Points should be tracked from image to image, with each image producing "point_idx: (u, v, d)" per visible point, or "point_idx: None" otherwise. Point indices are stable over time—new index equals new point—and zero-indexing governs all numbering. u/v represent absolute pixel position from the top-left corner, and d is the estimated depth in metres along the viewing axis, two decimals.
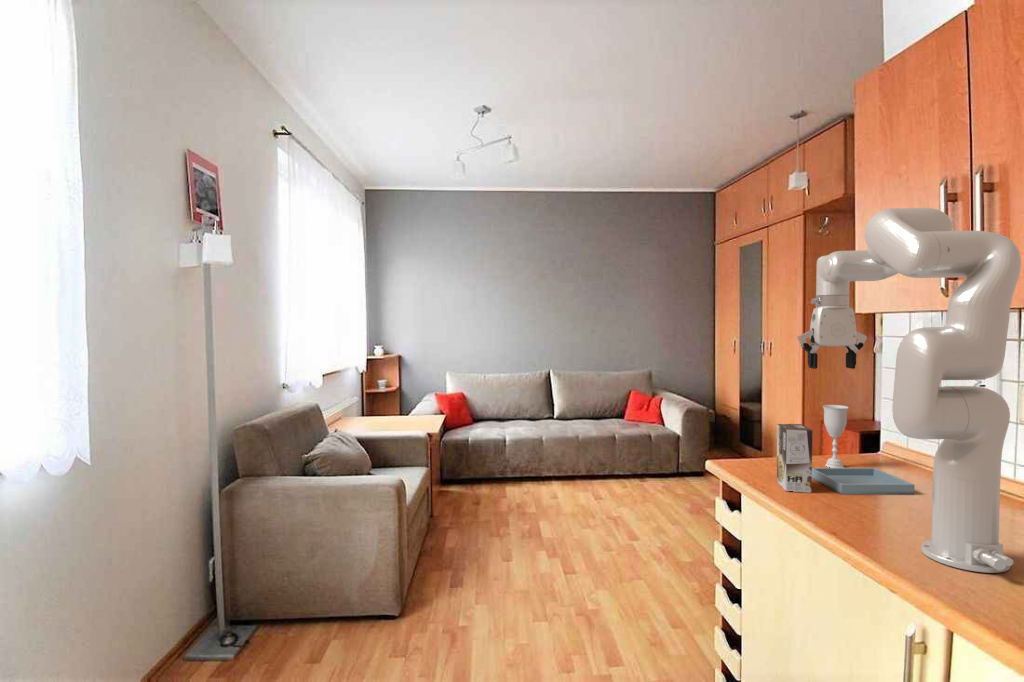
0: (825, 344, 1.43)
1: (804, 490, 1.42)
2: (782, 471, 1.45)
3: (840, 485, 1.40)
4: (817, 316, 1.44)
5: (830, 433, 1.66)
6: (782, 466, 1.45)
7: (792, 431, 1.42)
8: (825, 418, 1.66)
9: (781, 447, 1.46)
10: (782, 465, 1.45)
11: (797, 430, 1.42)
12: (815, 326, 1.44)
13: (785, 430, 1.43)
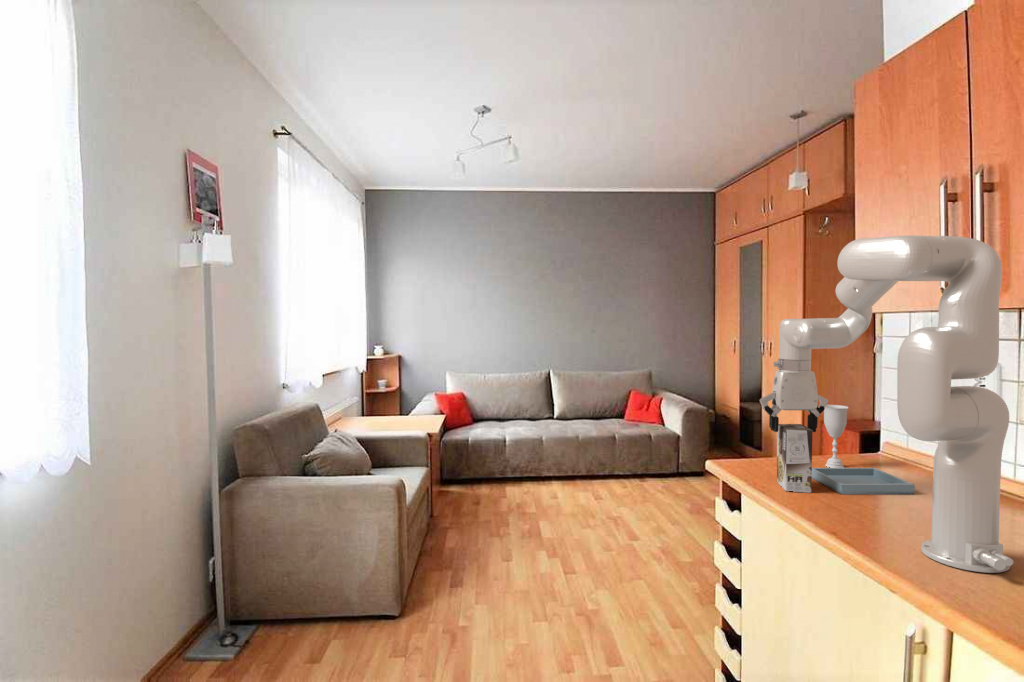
0: (786, 408, 1.43)
1: (804, 490, 1.42)
2: (782, 471, 1.45)
3: (840, 485, 1.40)
4: (779, 380, 1.44)
5: (830, 433, 1.66)
6: (782, 466, 1.45)
7: (792, 431, 1.42)
8: (825, 418, 1.66)
9: (781, 447, 1.46)
10: (782, 465, 1.45)
11: (797, 430, 1.42)
12: (777, 390, 1.44)
13: (785, 430, 1.43)
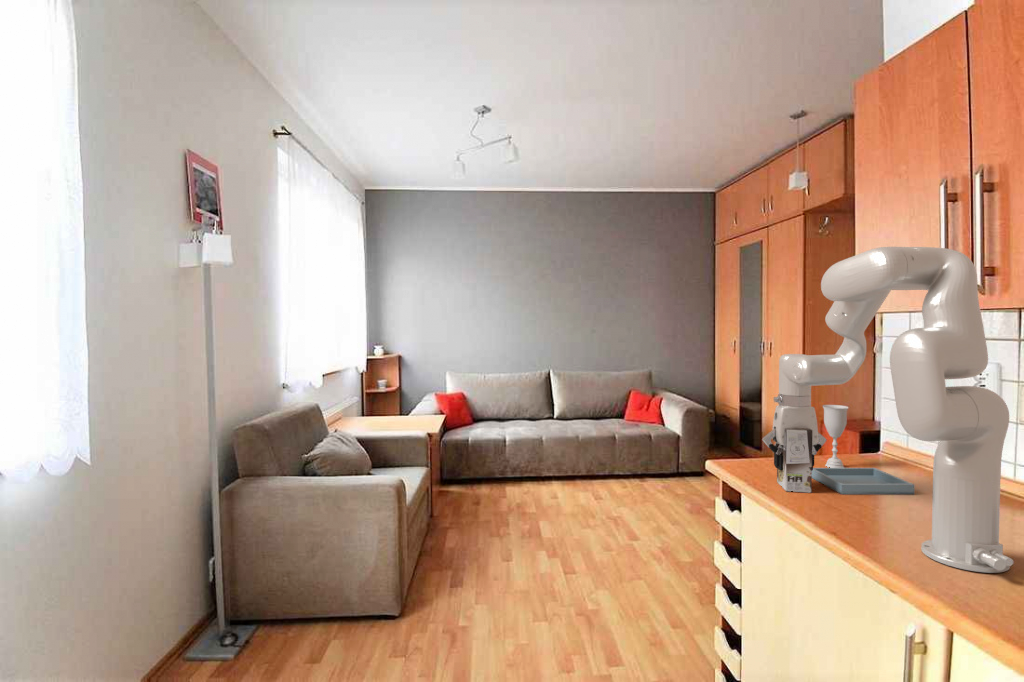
0: None
1: (804, 490, 1.42)
2: (782, 471, 1.45)
3: (840, 485, 1.40)
4: (779, 416, 1.44)
5: (830, 433, 1.66)
6: None
7: (792, 431, 1.42)
8: (825, 418, 1.66)
9: None
10: None
11: (797, 430, 1.42)
12: (777, 425, 1.45)
13: (785, 430, 1.43)
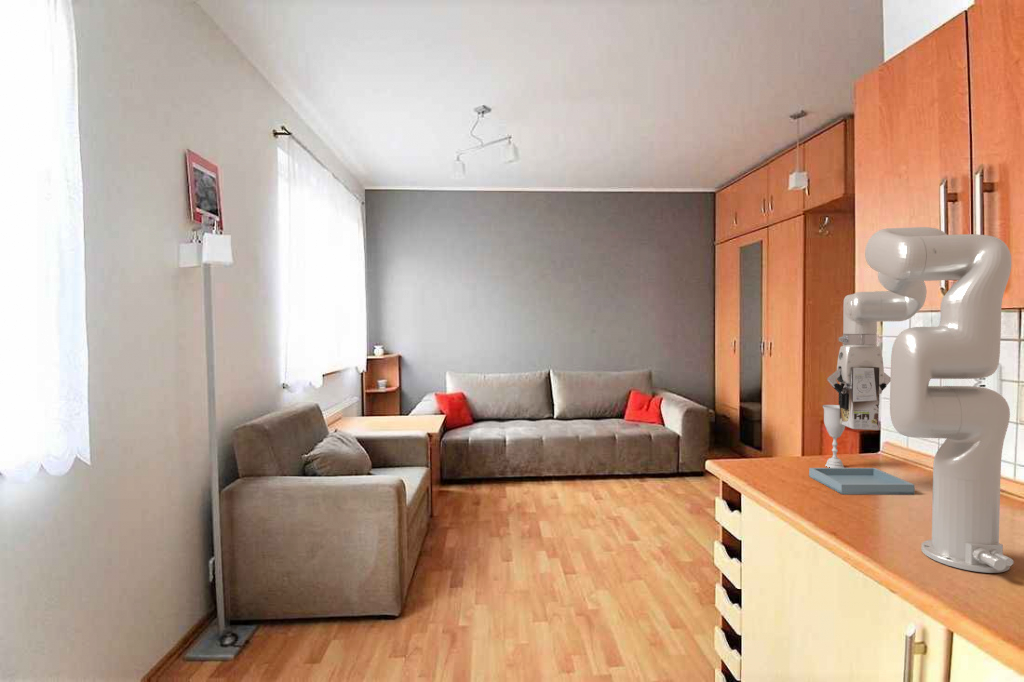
0: None
1: (871, 427, 1.42)
2: (847, 410, 1.46)
3: (840, 485, 1.40)
4: (845, 354, 1.45)
5: (830, 433, 1.66)
6: None
7: (859, 369, 1.43)
8: (825, 418, 1.66)
9: None
10: None
11: (864, 368, 1.43)
12: (843, 364, 1.45)
13: None
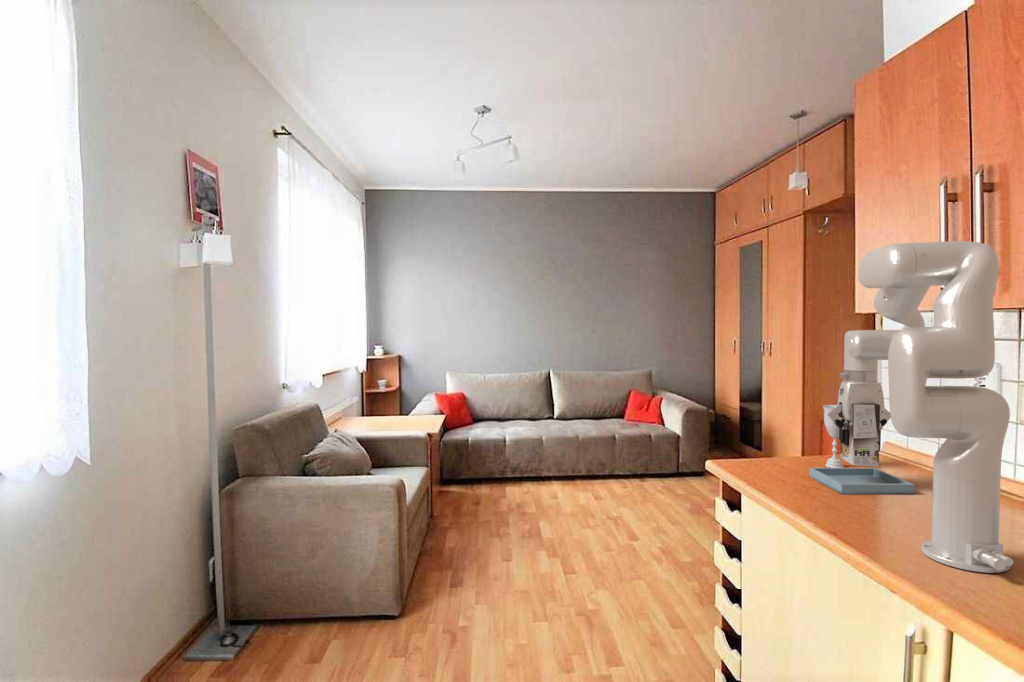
0: None
1: (871, 464, 1.43)
2: (848, 446, 1.47)
3: (840, 485, 1.40)
4: (845, 391, 1.45)
5: (830, 433, 1.66)
6: None
7: (859, 406, 1.43)
8: (825, 418, 1.66)
9: None
10: None
11: (864, 405, 1.43)
12: (843, 401, 1.46)
13: (852, 405, 1.44)
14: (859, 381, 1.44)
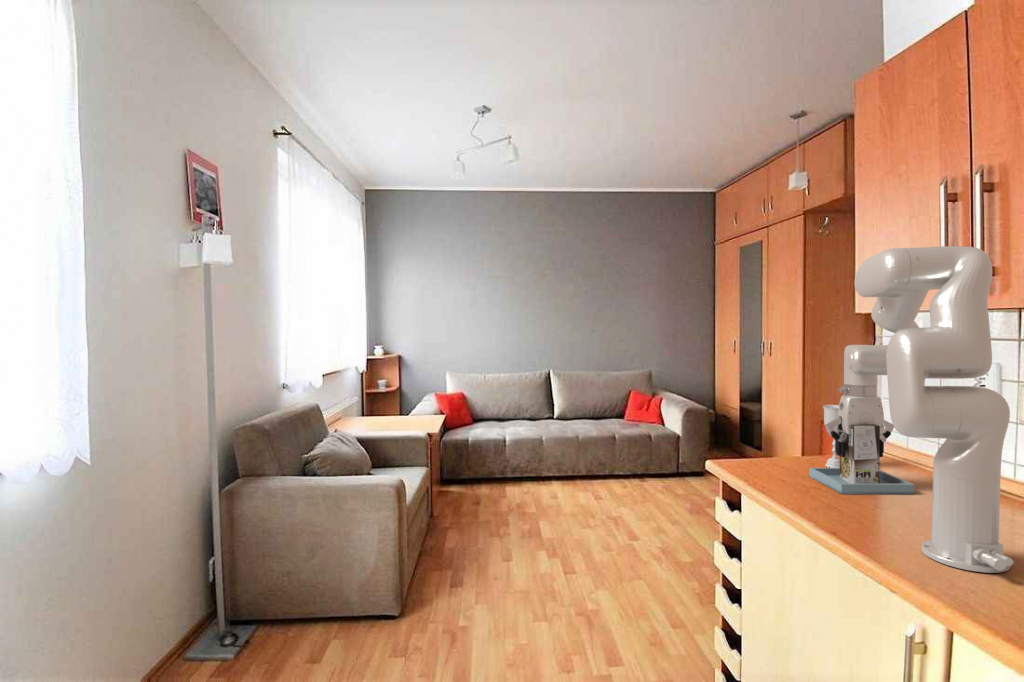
0: None
1: None
2: (848, 467, 1.46)
3: (840, 485, 1.40)
4: (845, 405, 1.45)
5: None
6: (848, 462, 1.46)
7: (860, 427, 1.43)
8: (825, 418, 1.66)
9: (846, 443, 1.47)
10: (848, 461, 1.46)
11: (865, 426, 1.43)
12: (843, 415, 1.46)
13: (852, 426, 1.44)
14: (859, 396, 1.44)
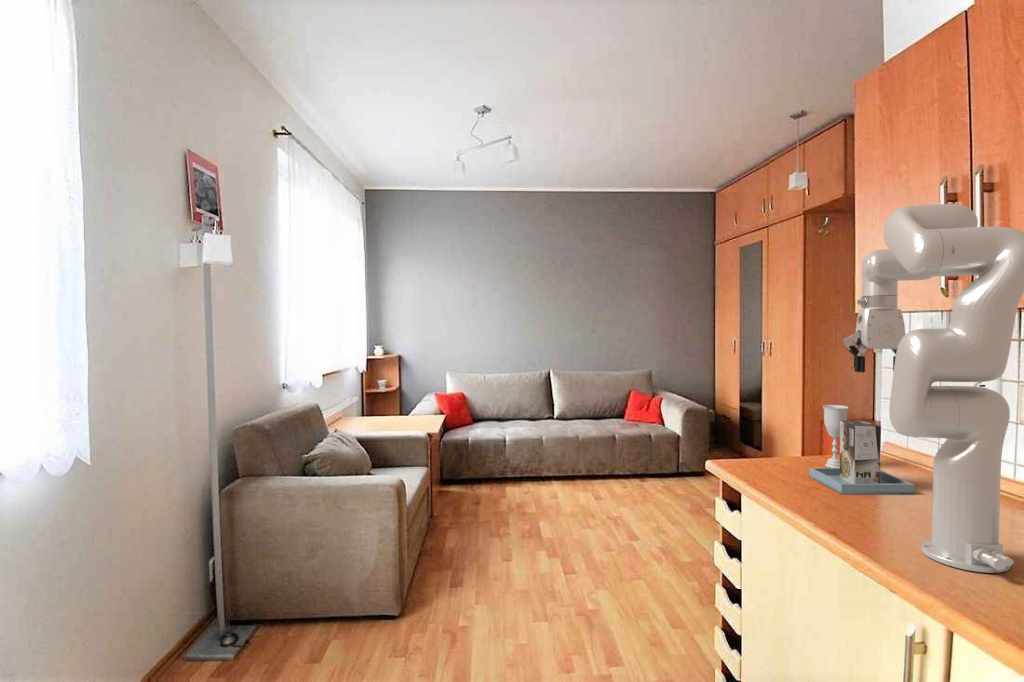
0: (873, 346, 1.37)
1: None
2: (849, 467, 1.46)
3: (840, 485, 1.40)
4: (864, 317, 1.38)
5: (830, 433, 1.66)
6: (849, 462, 1.46)
7: (861, 427, 1.43)
8: (825, 418, 1.66)
9: (847, 443, 1.47)
10: (849, 461, 1.46)
11: (865, 426, 1.43)
12: (862, 328, 1.39)
13: (853, 426, 1.44)
14: (879, 306, 1.37)
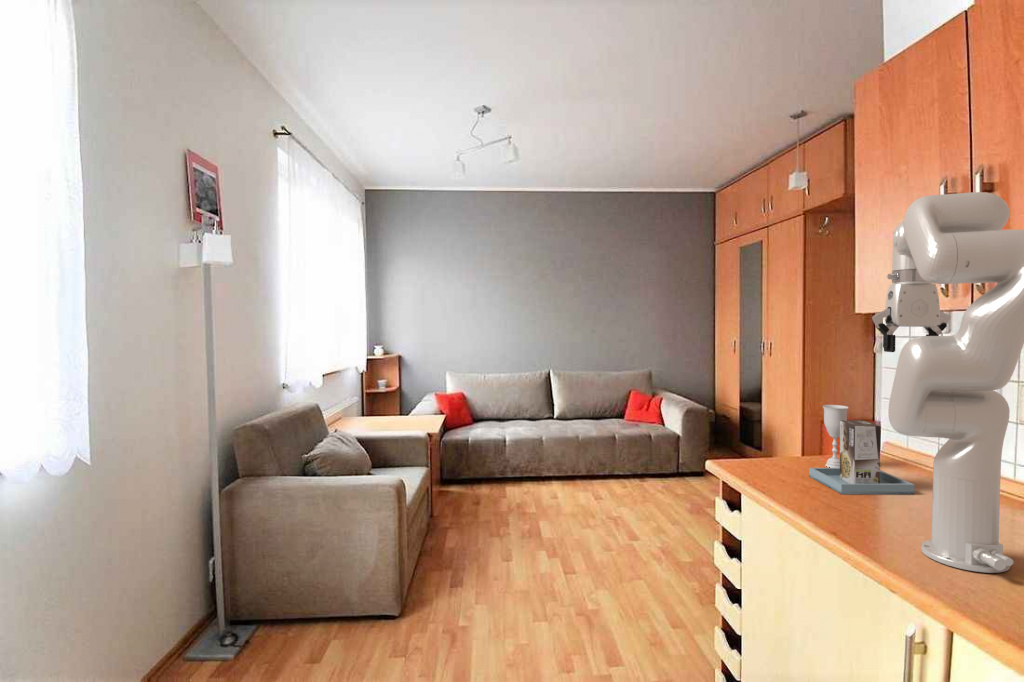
0: (905, 324, 1.28)
1: None
2: (849, 467, 1.46)
3: (840, 485, 1.40)
4: (895, 293, 1.28)
5: (830, 433, 1.66)
6: (849, 462, 1.46)
7: (861, 427, 1.43)
8: (825, 418, 1.66)
9: (847, 443, 1.47)
10: (849, 461, 1.46)
11: (865, 426, 1.43)
12: (893, 304, 1.29)
13: (853, 426, 1.44)
14: (911, 281, 1.27)
